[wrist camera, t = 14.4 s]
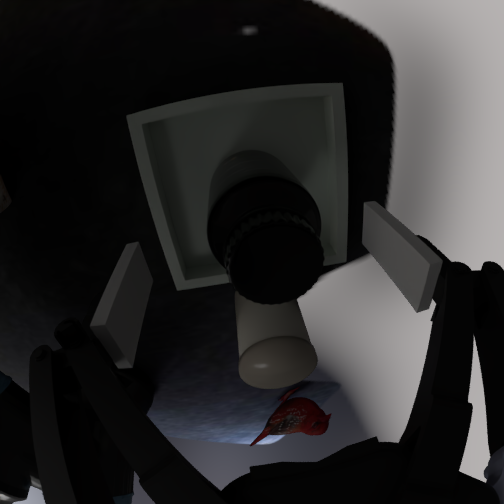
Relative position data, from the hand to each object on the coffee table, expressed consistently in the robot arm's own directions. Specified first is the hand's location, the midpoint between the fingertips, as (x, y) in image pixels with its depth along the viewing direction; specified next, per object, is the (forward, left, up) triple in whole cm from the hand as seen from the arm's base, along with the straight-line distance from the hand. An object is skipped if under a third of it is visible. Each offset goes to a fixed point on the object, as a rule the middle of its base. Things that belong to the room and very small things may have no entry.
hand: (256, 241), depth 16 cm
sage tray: (0, 0, -10) cm, 10 cm away
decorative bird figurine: (0, -36, -10) cm, 37 cm away
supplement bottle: (+1, 0, -9) cm, 9 cm away
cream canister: (0, -13, -10) cm, 16 cm away
